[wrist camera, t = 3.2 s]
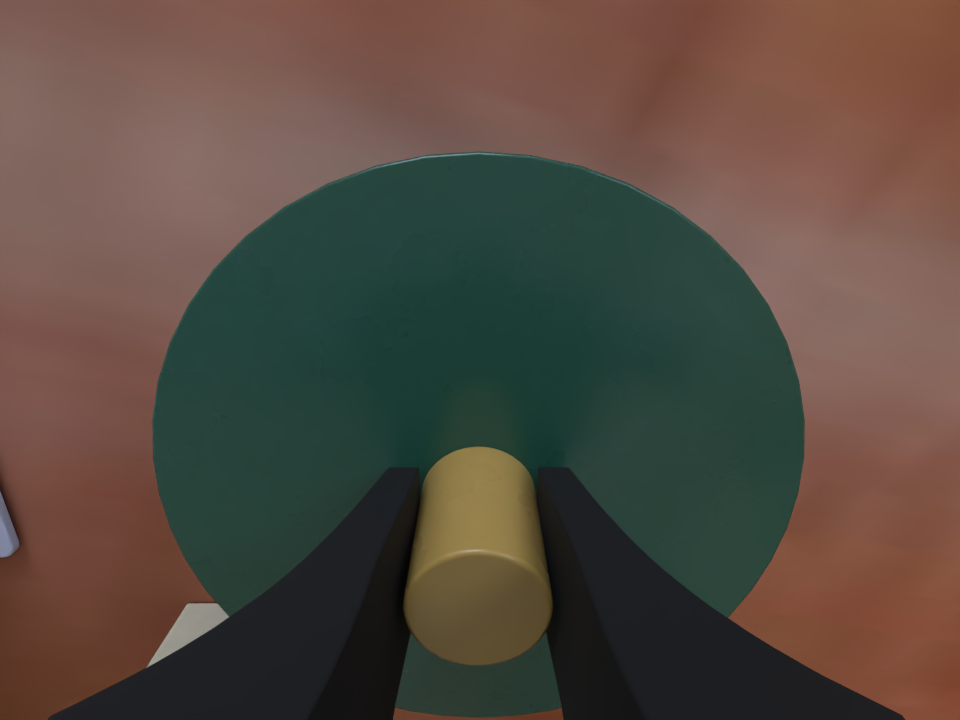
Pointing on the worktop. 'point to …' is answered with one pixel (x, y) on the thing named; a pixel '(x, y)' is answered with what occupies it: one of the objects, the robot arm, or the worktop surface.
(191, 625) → the block
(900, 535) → the worktop surface
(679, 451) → the tin lid
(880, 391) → the worktop surface
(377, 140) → the worktop surface
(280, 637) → the robot arm
